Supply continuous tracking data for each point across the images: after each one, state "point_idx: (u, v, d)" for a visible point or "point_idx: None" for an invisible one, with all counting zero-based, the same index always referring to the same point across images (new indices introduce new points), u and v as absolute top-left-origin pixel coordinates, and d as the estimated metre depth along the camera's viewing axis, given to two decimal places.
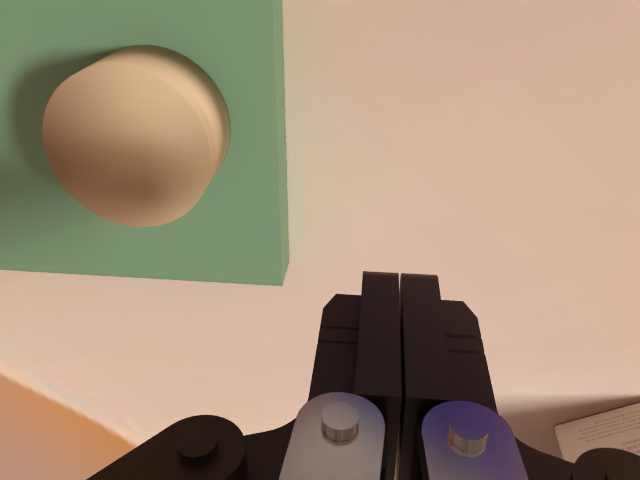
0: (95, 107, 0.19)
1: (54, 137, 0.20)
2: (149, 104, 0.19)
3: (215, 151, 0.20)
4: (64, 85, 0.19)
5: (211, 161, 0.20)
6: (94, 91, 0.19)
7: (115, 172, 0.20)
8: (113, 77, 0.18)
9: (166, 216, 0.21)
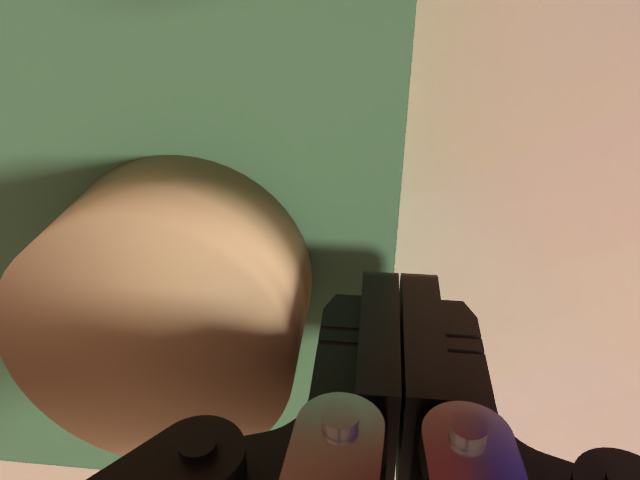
0: (88, 288, 0.10)
1: (14, 331, 0.11)
2: (187, 287, 0.10)
3: (298, 349, 0.11)
4: (30, 252, 0.10)
5: (294, 374, 0.11)
6: (86, 262, 0.10)
7: (123, 386, 0.11)
8: (122, 242, 0.10)
9: None
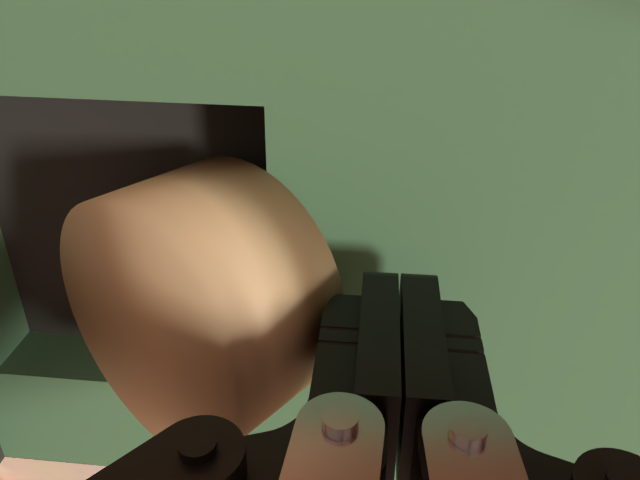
0: (104, 258, 0.12)
1: (71, 277, 0.13)
2: (160, 283, 0.10)
3: (267, 383, 0.11)
4: (72, 214, 0.12)
5: (245, 406, 0.10)
6: (101, 235, 0.11)
7: (131, 355, 0.12)
8: (119, 224, 0.11)
9: None
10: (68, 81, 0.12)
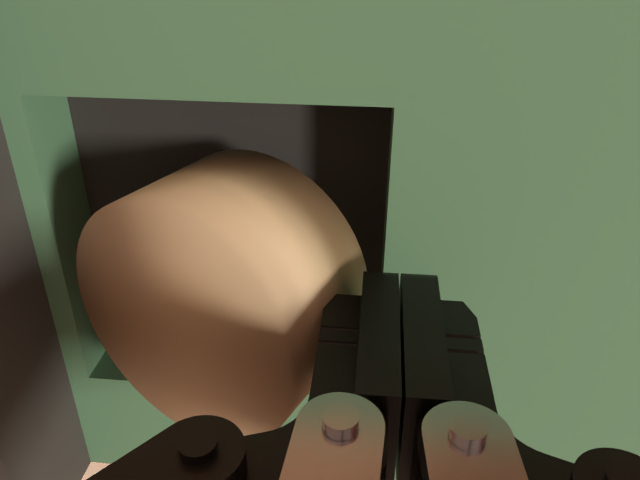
0: (136, 258, 0.12)
1: (90, 282, 0.13)
2: (206, 274, 0.11)
3: (314, 360, 0.11)
4: (96, 217, 0.12)
5: (299, 382, 0.11)
6: (133, 234, 0.11)
7: (163, 352, 0.13)
8: (157, 222, 0.11)
9: None
10: (194, 83, 0.12)
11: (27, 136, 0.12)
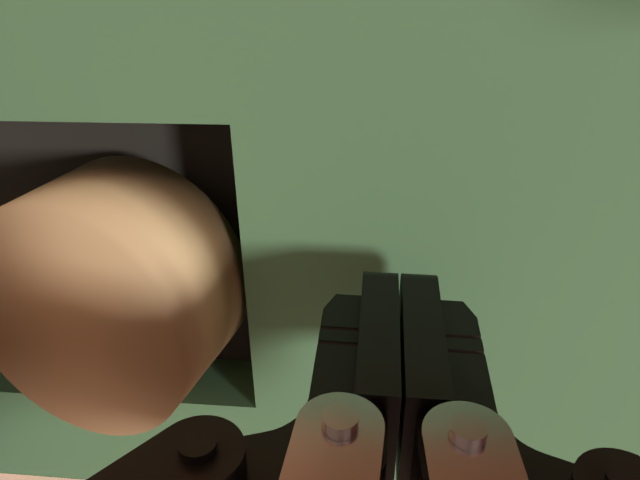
0: (17, 264, 0.12)
1: None
2: (87, 268, 0.11)
3: (202, 337, 0.12)
4: None
5: (189, 359, 0.12)
6: (12, 241, 0.12)
7: (55, 356, 0.13)
8: (34, 224, 0.11)
9: (130, 426, 0.13)
10: (37, 105, 0.12)
11: None
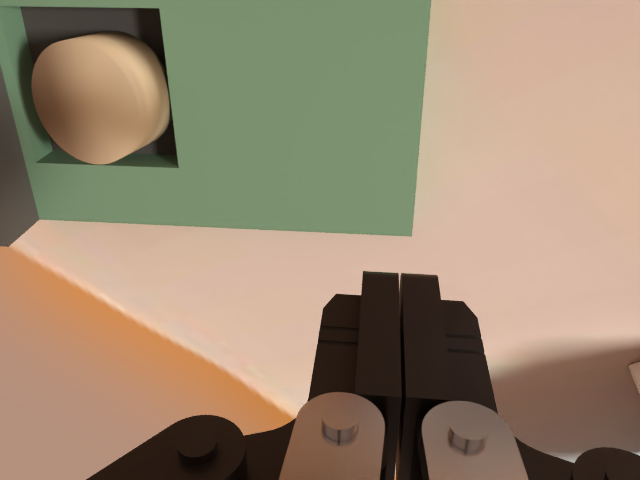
0: (62, 71, 0.27)
1: (39, 93, 0.27)
2: (94, 68, 0.26)
3: (146, 107, 0.27)
4: (42, 55, 0.26)
5: (139, 113, 0.26)
6: (60, 58, 0.26)
7: (78, 120, 0.27)
8: (71, 48, 0.26)
9: (113, 156, 0.28)
10: None
11: (1, 26, 0.27)
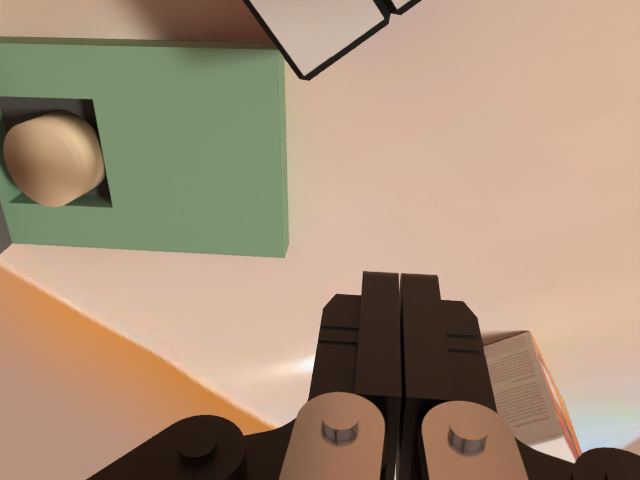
0: (24, 143, 0.37)
1: (8, 157, 0.38)
2: (46, 142, 0.37)
3: (84, 168, 0.38)
4: (10, 131, 0.37)
5: (79, 173, 0.37)
6: (23, 134, 0.37)
7: (36, 176, 0.38)
8: (30, 128, 0.37)
9: (61, 201, 0.39)
10: (32, 91, 0.37)
11: None
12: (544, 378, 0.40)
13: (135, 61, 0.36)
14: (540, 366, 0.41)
